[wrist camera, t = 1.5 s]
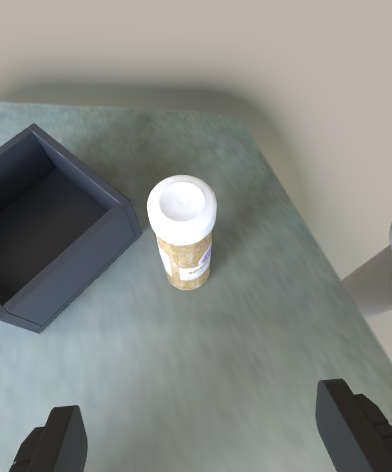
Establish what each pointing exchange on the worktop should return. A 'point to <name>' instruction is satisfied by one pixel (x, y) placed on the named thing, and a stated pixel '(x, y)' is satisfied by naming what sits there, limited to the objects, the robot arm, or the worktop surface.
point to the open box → (54, 228)
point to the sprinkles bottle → (183, 228)
